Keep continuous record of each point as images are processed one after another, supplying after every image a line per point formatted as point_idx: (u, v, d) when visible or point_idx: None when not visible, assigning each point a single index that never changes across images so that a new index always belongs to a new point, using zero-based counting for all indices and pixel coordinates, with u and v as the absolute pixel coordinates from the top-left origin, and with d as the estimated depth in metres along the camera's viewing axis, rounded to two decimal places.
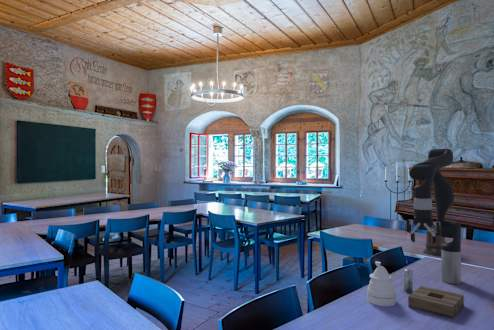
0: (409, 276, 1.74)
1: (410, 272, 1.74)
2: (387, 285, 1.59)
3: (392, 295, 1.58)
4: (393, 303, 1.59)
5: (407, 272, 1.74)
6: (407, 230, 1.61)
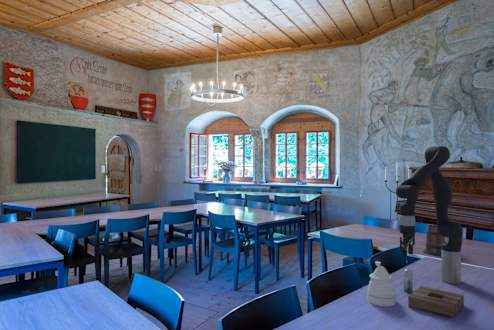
0: (409, 276, 1.74)
1: (410, 272, 1.74)
2: (387, 285, 1.59)
3: (392, 295, 1.58)
4: (393, 303, 1.59)
5: (407, 272, 1.74)
6: (405, 247, 1.70)
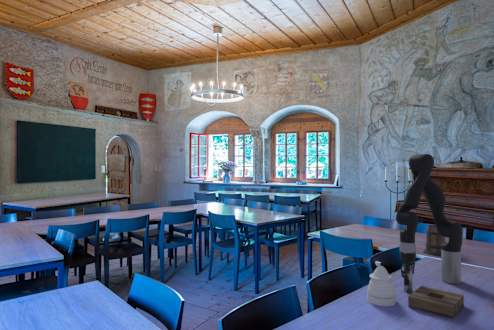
0: (409, 276, 1.74)
1: (410, 272, 1.74)
2: (387, 285, 1.59)
3: (392, 295, 1.58)
4: (393, 303, 1.59)
5: None
6: (407, 276, 1.71)
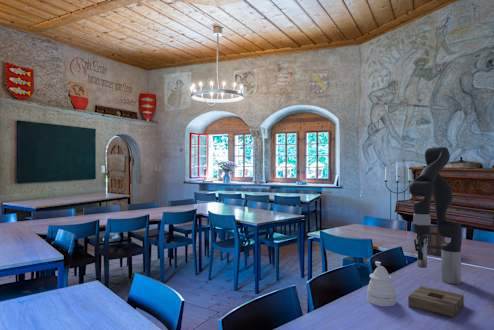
0: (423, 249, 1.62)
1: None
2: (387, 285, 1.59)
3: (392, 295, 1.58)
4: (393, 303, 1.59)
5: None
6: (421, 249, 1.60)
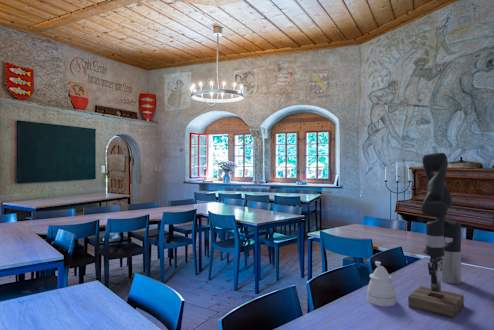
0: (437, 273, 1.55)
1: None
2: (387, 285, 1.59)
3: (392, 295, 1.58)
4: (393, 303, 1.59)
5: None
6: (435, 273, 1.52)
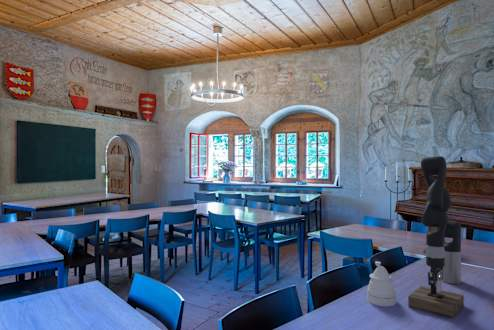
0: (437, 286, 1.55)
1: (438, 282, 1.55)
2: (387, 285, 1.59)
3: (392, 295, 1.58)
4: (393, 303, 1.59)
5: None
6: (434, 284, 1.52)
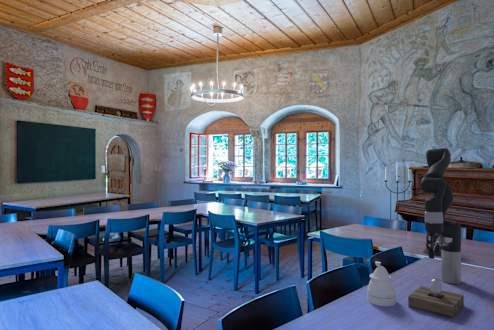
0: (437, 286, 1.55)
1: (439, 282, 1.55)
2: (387, 285, 1.59)
3: (392, 295, 1.58)
4: (393, 303, 1.59)
5: (435, 282, 1.55)
6: (432, 247, 1.52)
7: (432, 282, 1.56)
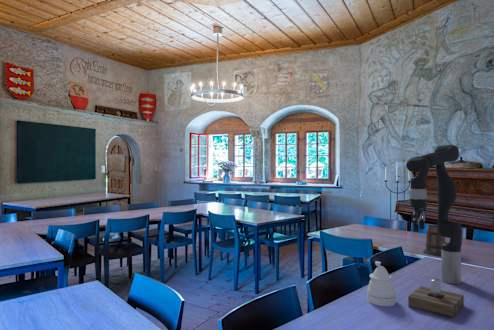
0: (437, 287, 1.55)
1: (438, 283, 1.55)
2: (387, 285, 1.59)
3: (392, 295, 1.58)
4: (393, 303, 1.59)
5: (434, 283, 1.55)
6: (416, 221, 1.65)
7: (431, 282, 1.56)
